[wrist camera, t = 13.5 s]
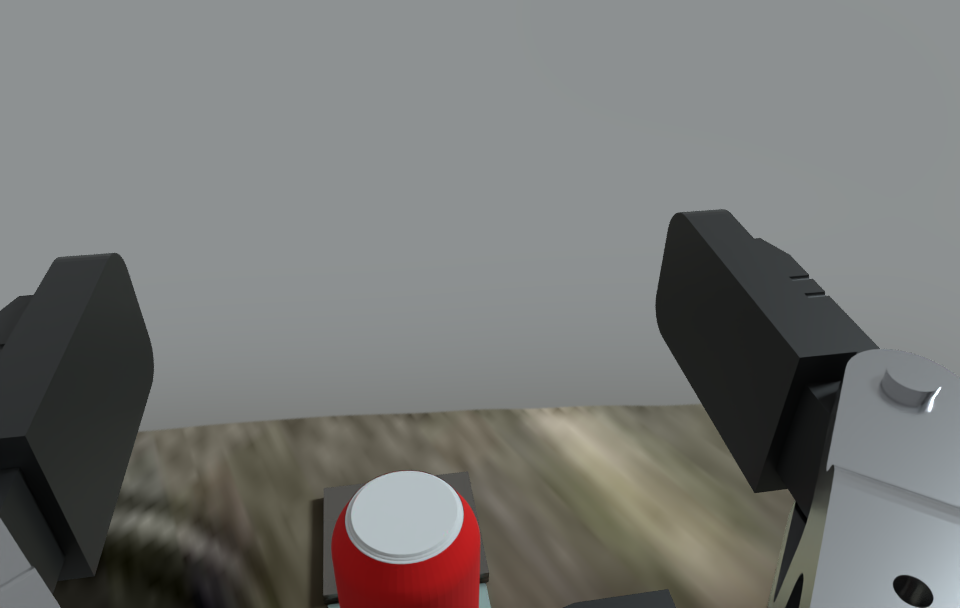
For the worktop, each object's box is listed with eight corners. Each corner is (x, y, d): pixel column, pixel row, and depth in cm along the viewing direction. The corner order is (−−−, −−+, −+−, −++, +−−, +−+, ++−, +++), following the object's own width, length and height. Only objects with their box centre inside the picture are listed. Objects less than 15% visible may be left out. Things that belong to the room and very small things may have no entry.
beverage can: (377, 604, 40) (361, 443, 33) (490, 631, 38) (496, 470, 32) (331, 717, 35) (300, 555, 28) (458, 753, 33) (457, 592, 27)
